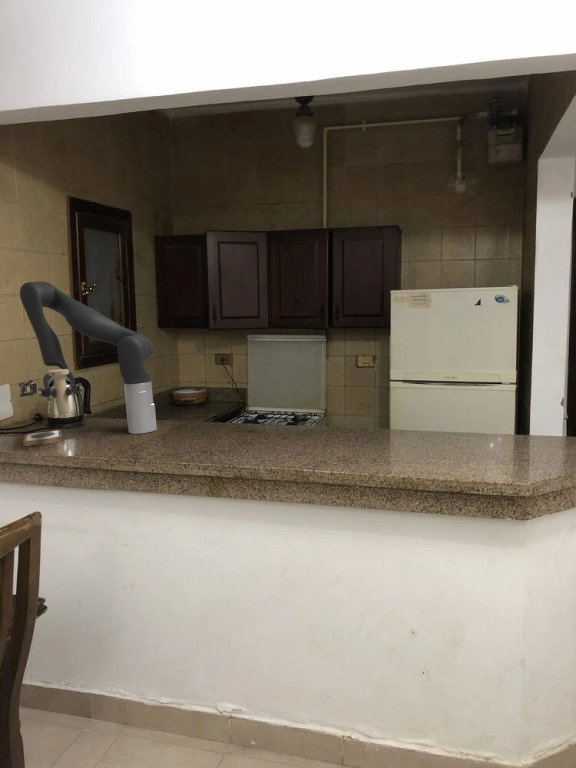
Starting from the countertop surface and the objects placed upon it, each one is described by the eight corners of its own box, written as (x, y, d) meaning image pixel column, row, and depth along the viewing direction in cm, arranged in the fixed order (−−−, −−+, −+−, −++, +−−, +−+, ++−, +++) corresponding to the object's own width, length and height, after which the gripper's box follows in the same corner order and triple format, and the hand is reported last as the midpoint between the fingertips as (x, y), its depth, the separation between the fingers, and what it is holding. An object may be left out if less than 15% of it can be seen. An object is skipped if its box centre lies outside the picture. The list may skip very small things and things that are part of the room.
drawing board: (61, 434, 209) (61, 429, 208) (62, 441, 198) (62, 436, 197) (24, 439, 204) (24, 433, 204) (23, 446, 193) (22, 441, 193)
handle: (66, 419, 185) (60, 371, 182) (51, 418, 187) (44, 371, 185) (77, 415, 189) (71, 369, 187) (62, 415, 192) (56, 369, 189)
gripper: (35, 378, 197) (35, 384, 181) (80, 373, 202) (84, 378, 186) (38, 400, 198) (38, 408, 182) (83, 394, 203) (86, 402, 188)
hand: (61, 393), depth 184 cm, fingers closed on handle, 3 cm apart
